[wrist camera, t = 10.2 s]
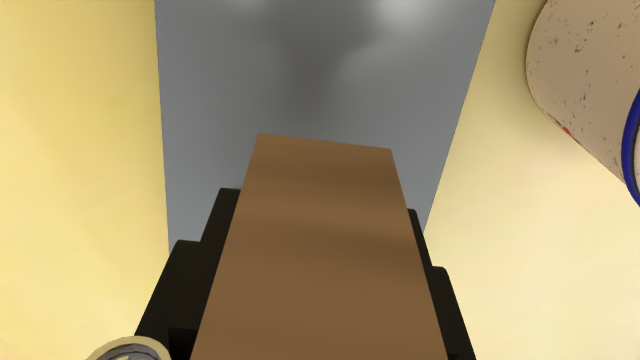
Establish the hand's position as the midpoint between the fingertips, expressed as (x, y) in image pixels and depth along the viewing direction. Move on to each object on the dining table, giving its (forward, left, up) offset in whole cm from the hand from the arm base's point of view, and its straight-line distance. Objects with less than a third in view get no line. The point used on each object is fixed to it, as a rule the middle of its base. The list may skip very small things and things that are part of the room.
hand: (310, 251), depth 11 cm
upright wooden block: (+1, 0, -1) cm, 2 cm away
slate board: (+3, 0, -12) cm, 13 cm away
